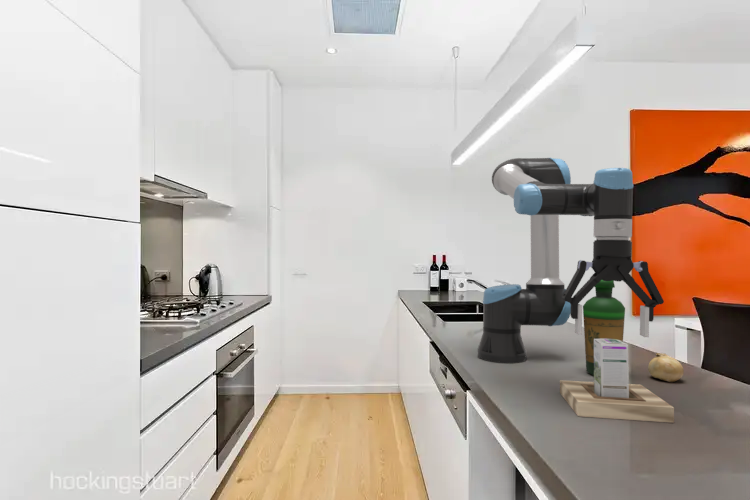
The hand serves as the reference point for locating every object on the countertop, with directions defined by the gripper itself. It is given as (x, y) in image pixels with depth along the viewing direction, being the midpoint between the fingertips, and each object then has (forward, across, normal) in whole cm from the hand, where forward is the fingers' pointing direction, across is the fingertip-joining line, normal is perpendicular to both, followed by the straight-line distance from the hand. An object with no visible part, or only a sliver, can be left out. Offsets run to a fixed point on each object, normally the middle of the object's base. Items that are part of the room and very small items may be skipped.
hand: (610, 335), depth 100 cm
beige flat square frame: (+16, 0, -1) cm, 16 cm away
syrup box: (+16, 0, -1) cm, 16 cm away
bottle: (+16, +7, +27) cm, 33 cm away
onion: (+16, +22, +25) cm, 37 cm away
